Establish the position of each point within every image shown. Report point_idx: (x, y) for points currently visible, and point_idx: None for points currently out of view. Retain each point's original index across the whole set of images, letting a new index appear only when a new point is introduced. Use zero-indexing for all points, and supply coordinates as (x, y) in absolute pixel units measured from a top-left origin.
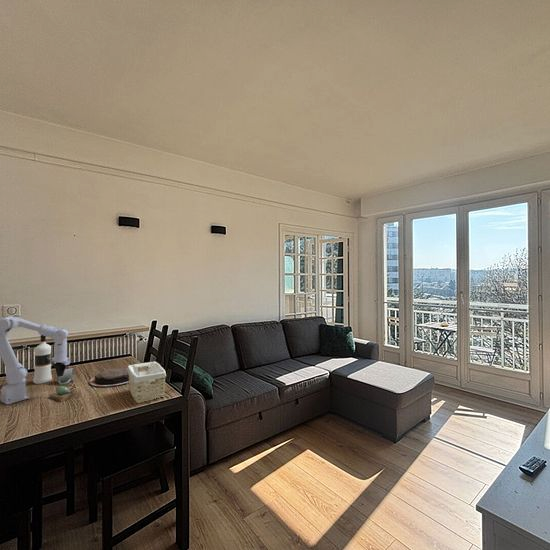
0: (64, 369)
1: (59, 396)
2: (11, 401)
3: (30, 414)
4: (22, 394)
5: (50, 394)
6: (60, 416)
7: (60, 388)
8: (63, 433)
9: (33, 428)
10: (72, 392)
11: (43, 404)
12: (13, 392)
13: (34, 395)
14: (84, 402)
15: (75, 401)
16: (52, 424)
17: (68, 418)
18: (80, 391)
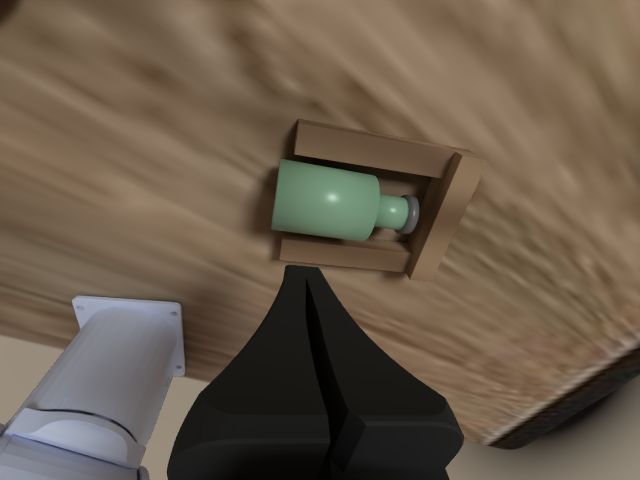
0: (355, 328)
1: (380, 258)
2: (171, 364)
3: None
4: (164, 352)
5: (287, 260)
6: (535, 342)
7: (326, 233)
8: (619, 386)
9: (502, 403)
10: (441, 205)
11: (351, 311)
12: (152, 406)
13: (145, 265)
14: (563, 219)
15: (498, 229)
16: (546, 375)
17: (580, 339)
18: (485, 162)
